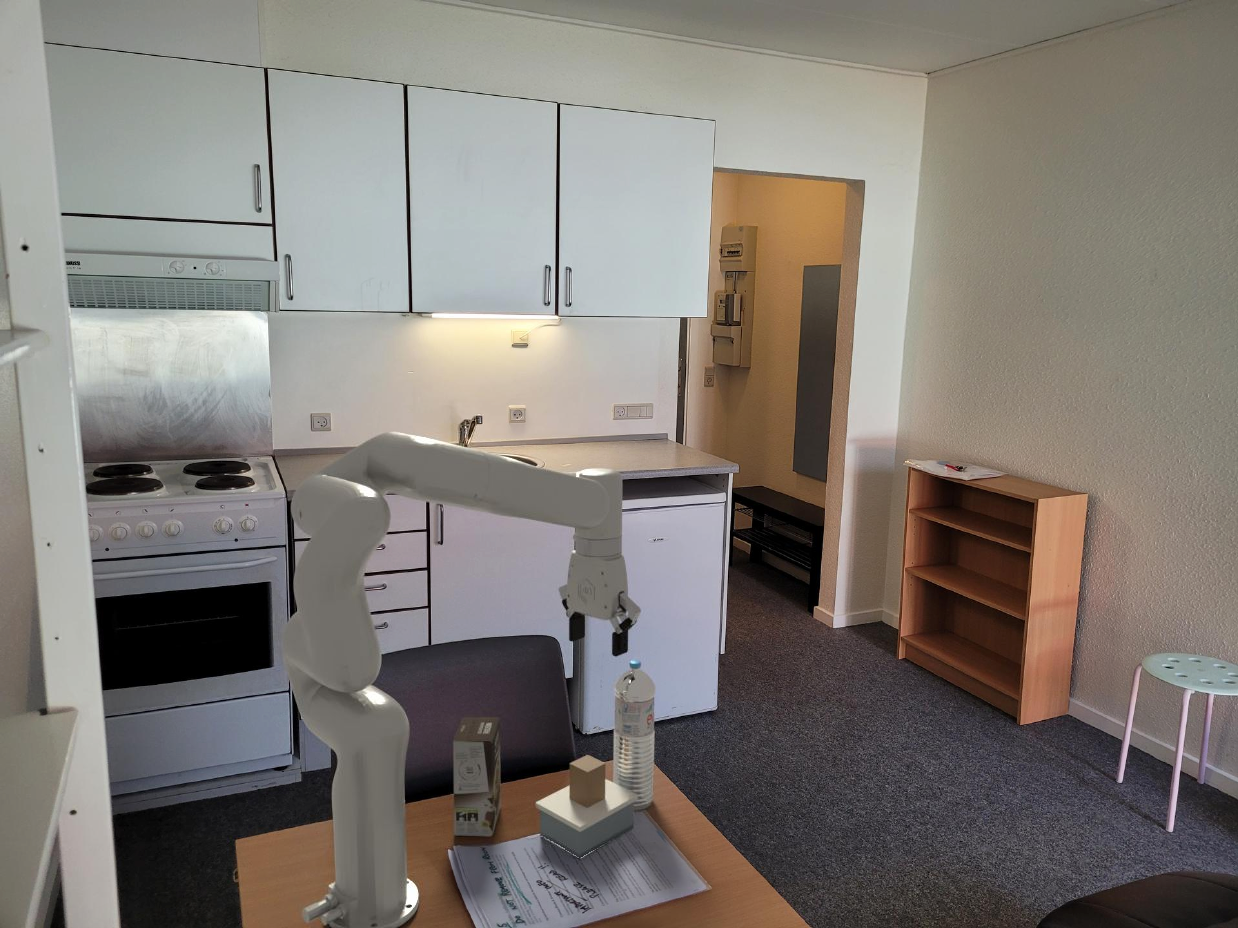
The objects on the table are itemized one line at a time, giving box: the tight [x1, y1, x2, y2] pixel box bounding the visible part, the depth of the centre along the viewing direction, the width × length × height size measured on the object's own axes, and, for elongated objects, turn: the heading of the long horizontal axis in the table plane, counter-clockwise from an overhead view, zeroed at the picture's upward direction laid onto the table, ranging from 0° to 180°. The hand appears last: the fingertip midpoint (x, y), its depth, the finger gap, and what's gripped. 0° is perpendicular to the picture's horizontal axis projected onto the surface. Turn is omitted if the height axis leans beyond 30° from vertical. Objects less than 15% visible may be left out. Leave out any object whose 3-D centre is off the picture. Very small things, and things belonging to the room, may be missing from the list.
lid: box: [535, 754, 638, 832], centre depth 146 cm, size 13×10×7 cm
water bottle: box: [612, 659, 656, 812], centre depth 154 cm, size 7×7×25 cm
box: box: [539, 802, 635, 858], centre depth 147 cm, size 12×9×5 cm
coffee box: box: [452, 716, 502, 837], centre depth 149 cm, size 9×6×16 cm
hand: (598, 646), depth 151 cm, fingers open, 9 cm apart
